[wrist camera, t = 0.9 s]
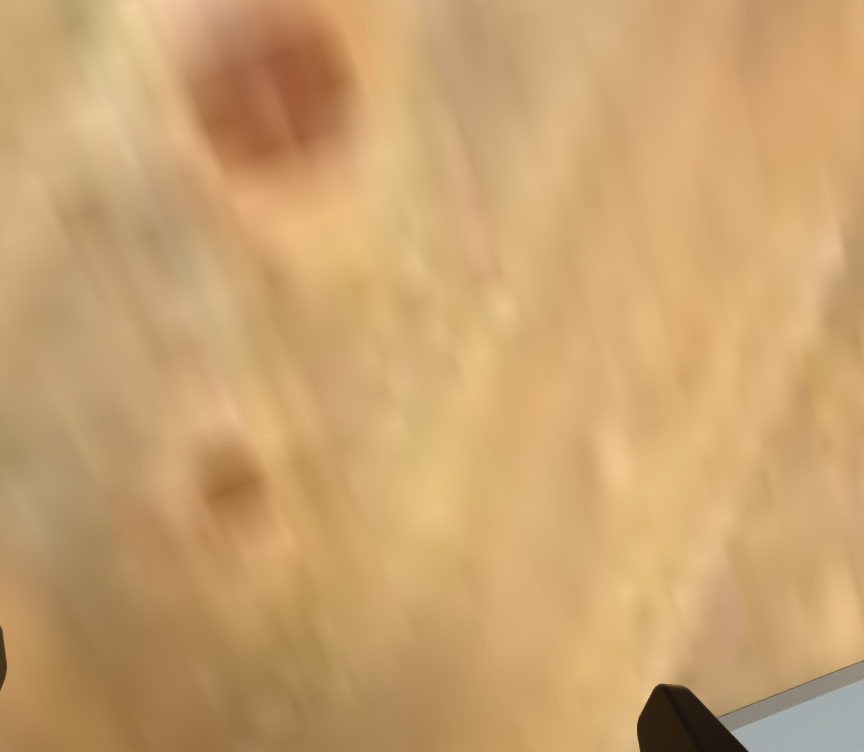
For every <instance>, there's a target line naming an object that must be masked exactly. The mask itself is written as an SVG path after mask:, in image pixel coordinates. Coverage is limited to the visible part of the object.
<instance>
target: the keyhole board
mask: <svg viewBox="0 0 864 752" xmlns="http://www.w3.org/2000/svg"><path fill="white" fill-rule="evenodd" d="M717 719H718V720H719V721H720V722H721V723H722V724H723V725H724V726H725V727H726V728H727V729H728V730H729V731H730V732H731V733H732V734H733V735H734V736H735V737H736V739H737V740H738V741H739V742H740V743H741V744H742V745H743V746H744V747H745V748H746V749H747V750H748V751H749V752H864V661H862V662H859V663H857V664H854V665H852V666H849V667H847V668H844V669H842V670H839V671H836V672H834V673H831V674H829V675H826V676H824V677H821V678H819V679H816V680H813V681H811V682H808V683H806V684H803V685H801V686H798V687H796V688H793V689H790V690H788V691H785V692H783V693H780V694H778V695H775V696H773V697H770V698H768V699H765V700H762V701H760V702H757V703H755V704H752V705H750V706H747V707H745V708H742V709H739V710H737V711H734V712H732V713H729V714H727V715H724V716H722V717H719V718H717Z"/></svg>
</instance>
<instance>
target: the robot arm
mask: <svg viewBox="0 0 864 752" xmlns="http://www.w3.org/2000/svg"><path fill="white" fill-rule="evenodd" d="M6 671H7V661H6V654H5V646H4V639H3V632H2V628H1V626H0V690H1V688H2V685H3V683H4V680H5V676H6ZM637 736H638V742H639V747H640V752H749V751H748V750H747V749H746V748H745V747H744V746H743V745H742V744H741V743H740V742H739V741H738V740H737V739H736V737H735V736H734V735H733V734H732V733H731V732H730V731H729V730H728V729H727V728H726V727H725V726H724V725H723V724H722V723H721V722H720V721H719V720H718V719H717V718H716V717H715V716H714V715H713V713H712V712H711V711H710V710H709V709H708V708H707V707H706V706H705V705H704V704H703V703H702V702H701V701H700V700H699V699H698V698H697V697H696V696H695V695H694V694H693V693H692V692H691V691H690V690H689V689H688V688H686V687H684V686H681V685H673V684H659V685H657V686H656V687H655V688H654V689H653V691H652V693H651V695H650V697H649V699H648V701H647V703H646V705H645V706H644V708H643V710H642V712H641V714H640V716H639V719H638V723H637Z"/></svg>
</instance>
